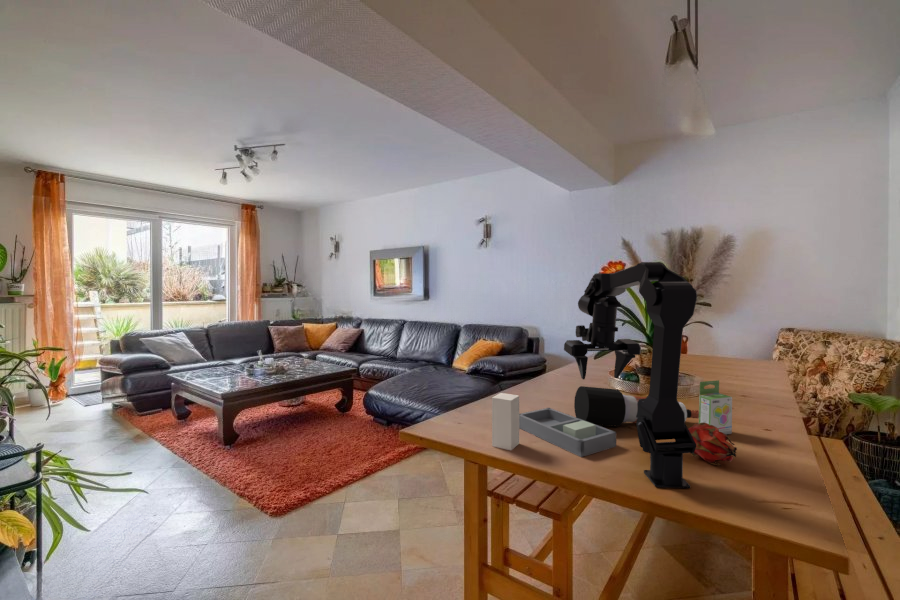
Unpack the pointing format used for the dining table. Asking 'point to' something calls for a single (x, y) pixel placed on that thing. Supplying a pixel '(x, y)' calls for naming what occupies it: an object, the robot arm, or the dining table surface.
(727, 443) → the dragon fruit
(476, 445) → the dining table surface
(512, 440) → the cream block
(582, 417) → the black and white bottle
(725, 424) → the ink box
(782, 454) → the dining table surface
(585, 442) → the tray
